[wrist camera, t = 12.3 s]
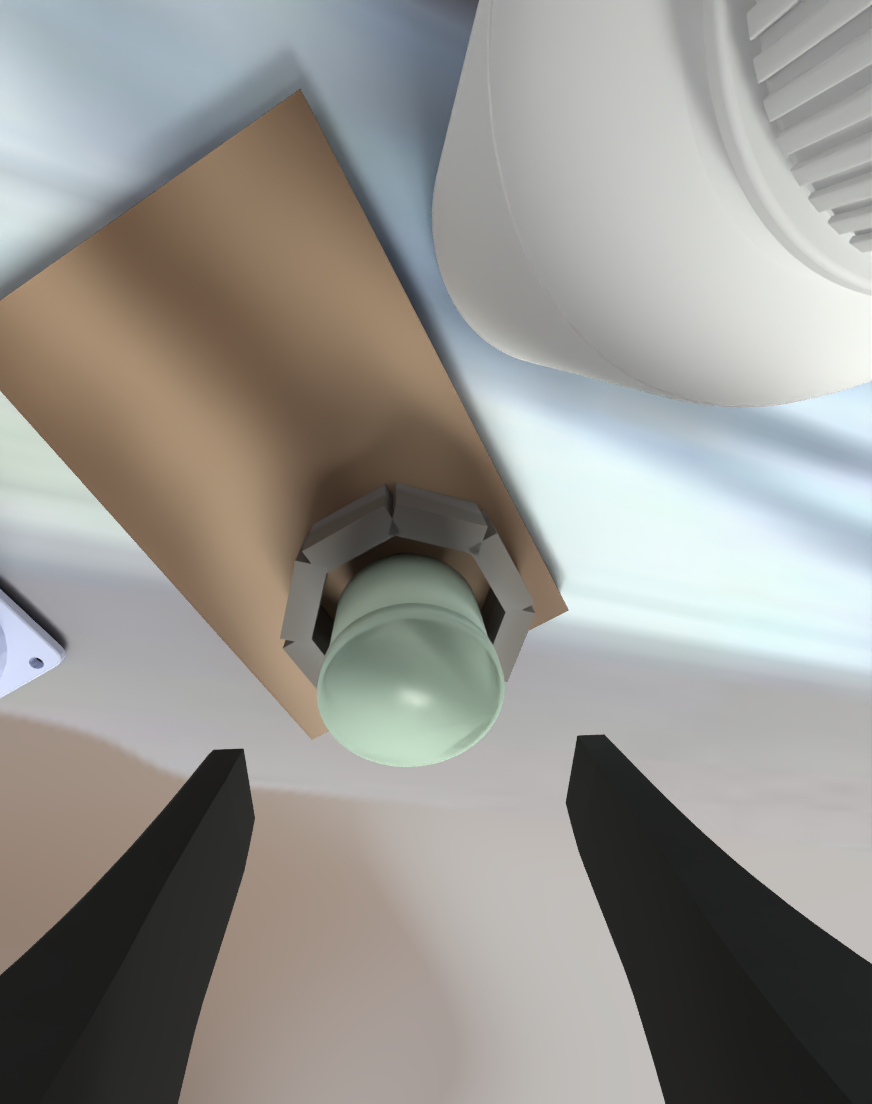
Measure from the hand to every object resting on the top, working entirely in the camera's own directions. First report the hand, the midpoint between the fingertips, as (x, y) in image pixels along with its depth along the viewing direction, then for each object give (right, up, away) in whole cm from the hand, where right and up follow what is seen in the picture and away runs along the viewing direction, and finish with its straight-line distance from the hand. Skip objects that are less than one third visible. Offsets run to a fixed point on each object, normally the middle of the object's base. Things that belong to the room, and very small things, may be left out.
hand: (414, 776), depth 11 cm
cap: (0, +3, +6) cm, 7 cm away
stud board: (-4, +7, +7) cm, 11 cm away
